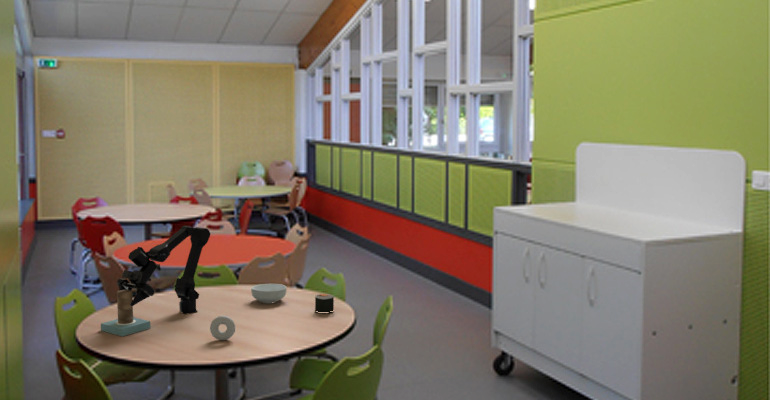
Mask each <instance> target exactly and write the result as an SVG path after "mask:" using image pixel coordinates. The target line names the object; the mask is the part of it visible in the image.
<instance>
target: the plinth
mask: <svg viewBox="0 0 770 400" xmlns="http://www.w3.org/2000/svg"><path fill="white" fill-rule="evenodd" d="M151 325H152V324H151V321H150V320H147V319H142V318H138V317H135V316H133V322H132V323H128V324H119V323H118V318H117V319H116V318H115V319H113V320H109V321H105V322H101V323H100V331H101V332H105V333H108V334H112V335H116V336H120V337H125V336H128V335H132V334H135V333H139V332H142V331H145V330H149V329H151V327H152V326H151Z"/></svg>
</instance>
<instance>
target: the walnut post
mask: <svg viewBox="0 0 770 400" xmlns="http://www.w3.org/2000/svg"><path fill="white" fill-rule="evenodd" d="M133 299H134V298H133V289H132V290H120V291H119V290H117V291H116V300H117V302H116V303H117V304H116V305H117V319H118V323H119V324H128V323H132V322H133V317H134V306H131V305H130V304H131V302H132V301H133Z"/></svg>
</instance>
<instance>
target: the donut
mask: <svg viewBox="0 0 770 400" xmlns="http://www.w3.org/2000/svg"><path fill="white" fill-rule="evenodd" d="M220 325H224V326H226V330H225V331H221V330H220V329H219V327H220ZM209 330H210V333H211V336H212V337H214V339H216V340H218V341H227V340H229V339H231V338H232V337H233V336H234V334H235V332H236V324H235V322H234V320H233V319H232V318H231V317H229V316H228V315H219V316H217V317H215V318H214V319H212V321H211V323H210V326H209Z"/></svg>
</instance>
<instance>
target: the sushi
mask: <svg viewBox="0 0 770 400" xmlns="http://www.w3.org/2000/svg"><path fill="white" fill-rule="evenodd" d="M314 298H315V300H314V301H315V304H314V305H315V306H314V312H315V311H318V312H330V311H333V310H334V308H335V307H334V306H335V305H334V302H335V301H334V295H333V294H329V293H322V292H321V293H318V294H315V297H314ZM334 311H335V310H334ZM334 311H333V312H334Z"/></svg>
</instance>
